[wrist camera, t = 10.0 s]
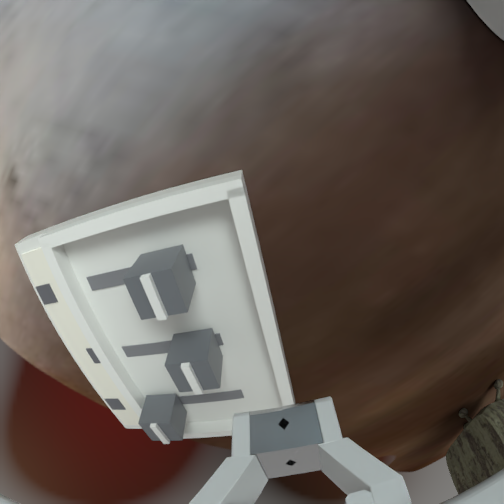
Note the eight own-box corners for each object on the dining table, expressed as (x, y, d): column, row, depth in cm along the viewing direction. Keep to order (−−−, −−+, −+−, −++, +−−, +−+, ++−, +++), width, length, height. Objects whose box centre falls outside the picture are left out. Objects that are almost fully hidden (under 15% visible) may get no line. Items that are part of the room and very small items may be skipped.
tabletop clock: (467, 427, 37) (513, 529, 14) (430, 438, 37) (474, 555, 14) (507, 369, 32) (578, 481, 9) (471, 379, 31) (545, 514, 8)
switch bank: (26, 236, 22) (4, 251, 19) (242, 169, 21) (241, 178, 17) (129, 416, 31) (122, 437, 28) (295, 400, 30) (298, 425, 27)
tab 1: (140, 254, 20) (120, 282, 17) (183, 244, 20) (169, 271, 16) (155, 291, 22) (139, 323, 18) (195, 283, 21) (186, 316, 18)
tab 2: (146, 395, 26) (137, 426, 23) (175, 393, 26) (169, 426, 22) (158, 413, 27) (151, 443, 24) (187, 411, 27) (182, 443, 24)
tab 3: (173, 333, 23) (163, 368, 19) (212, 327, 23) (207, 363, 19) (186, 360, 24) (179, 396, 21) (223, 355, 24) (220, 392, 20)
